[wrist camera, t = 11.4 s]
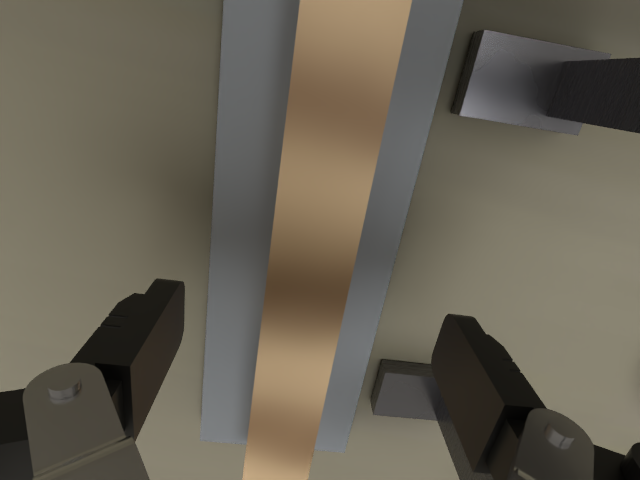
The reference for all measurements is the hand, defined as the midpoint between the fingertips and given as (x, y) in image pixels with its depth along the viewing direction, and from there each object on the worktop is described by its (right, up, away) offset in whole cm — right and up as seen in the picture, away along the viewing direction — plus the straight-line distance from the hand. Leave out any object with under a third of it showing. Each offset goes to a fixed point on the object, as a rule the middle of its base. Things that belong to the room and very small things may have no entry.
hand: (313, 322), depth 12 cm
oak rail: (0, +2, +5) cm, 5 cm away
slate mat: (-1, +3, +6) cm, 7 cm away
